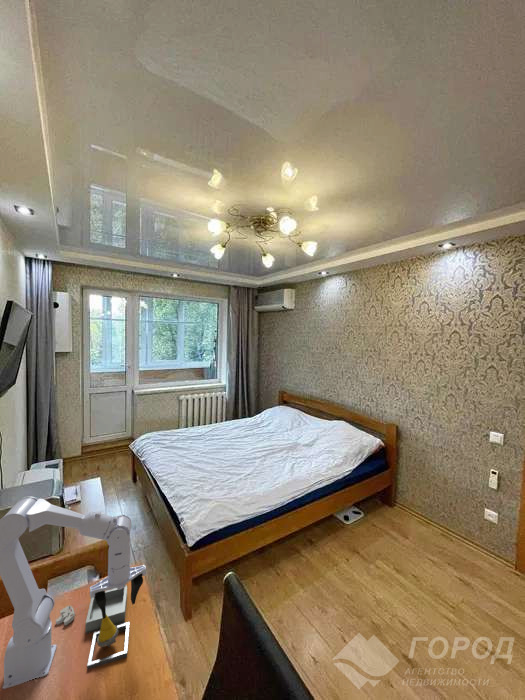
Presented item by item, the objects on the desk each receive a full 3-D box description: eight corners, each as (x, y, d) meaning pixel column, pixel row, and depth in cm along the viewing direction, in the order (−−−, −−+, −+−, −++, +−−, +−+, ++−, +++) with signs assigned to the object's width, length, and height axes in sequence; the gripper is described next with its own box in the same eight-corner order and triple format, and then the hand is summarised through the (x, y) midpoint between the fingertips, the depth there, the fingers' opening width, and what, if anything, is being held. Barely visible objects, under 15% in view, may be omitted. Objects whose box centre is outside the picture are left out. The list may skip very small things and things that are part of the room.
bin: (85, 634, 86) (85, 622, 86) (92, 604, 96) (92, 594, 96) (124, 622, 90) (124, 611, 90) (127, 595, 100) (127, 585, 100)
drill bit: (111, 657, 80) (105, 620, 80) (94, 656, 81) (88, 620, 81) (124, 638, 85) (118, 603, 85) (108, 638, 86) (102, 604, 86)
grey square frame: (87, 671, 77) (87, 666, 77) (93, 637, 86) (93, 632, 86) (127, 657, 80) (127, 652, 80) (129, 626, 89) (129, 621, 89)
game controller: (51, 622, 90) (51, 614, 90) (87, 594, 100) (87, 586, 100) (63, 630, 88) (63, 621, 87) (98, 600, 98) (98, 592, 98)
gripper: (92, 583, 76) (91, 634, 76) (149, 559, 85) (148, 605, 85) (89, 566, 82) (88, 614, 82) (142, 546, 90) (142, 589, 91)
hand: (118, 608), depth 84 cm, fingers open, 7 cm apart
